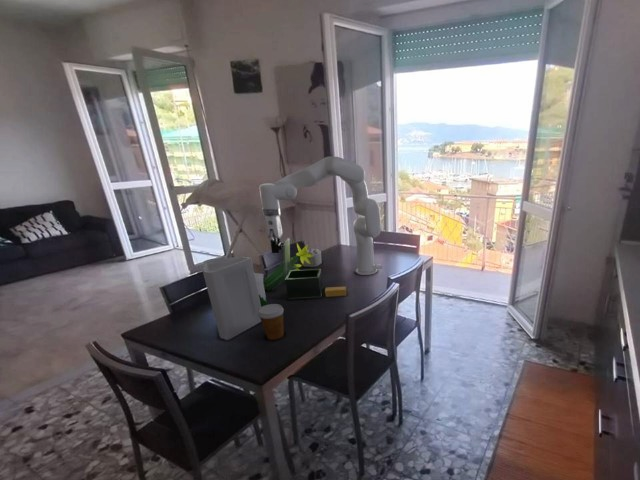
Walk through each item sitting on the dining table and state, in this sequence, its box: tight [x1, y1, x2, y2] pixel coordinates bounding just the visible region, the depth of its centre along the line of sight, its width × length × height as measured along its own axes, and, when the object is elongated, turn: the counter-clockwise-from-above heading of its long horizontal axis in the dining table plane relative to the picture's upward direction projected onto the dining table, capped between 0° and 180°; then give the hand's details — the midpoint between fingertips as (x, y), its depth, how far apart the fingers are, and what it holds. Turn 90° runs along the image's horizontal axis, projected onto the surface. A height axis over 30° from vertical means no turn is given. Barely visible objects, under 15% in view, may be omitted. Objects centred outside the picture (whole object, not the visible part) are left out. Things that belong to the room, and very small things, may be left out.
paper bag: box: [201, 256, 262, 341], centre depth 144 cm, size 19×15×28 cm
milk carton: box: [254, 272, 269, 307], centre depth 156 cm, size 9×9×20 cm
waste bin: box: [284, 268, 324, 301], centre depth 177 cm, size 16×13×11 cm
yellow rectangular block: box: [324, 286, 347, 298], centre depth 177 cm, size 10×4×3 cm, turn 96°
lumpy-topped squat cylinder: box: [301, 248, 323, 268], centre depth 221 cm, size 10×13×9 cm
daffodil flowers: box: [263, 242, 313, 292], centre depth 194 cm, size 17×15×35 cm
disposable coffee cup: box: [258, 303, 285, 341], centre depth 139 cm, size 10×10×12 cm
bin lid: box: [277, 237, 291, 279], centre depth 170 cm, size 16×13×5 cm
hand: (276, 250), depth 168 cm, fingers closed on bin lid, 5 cm apart
